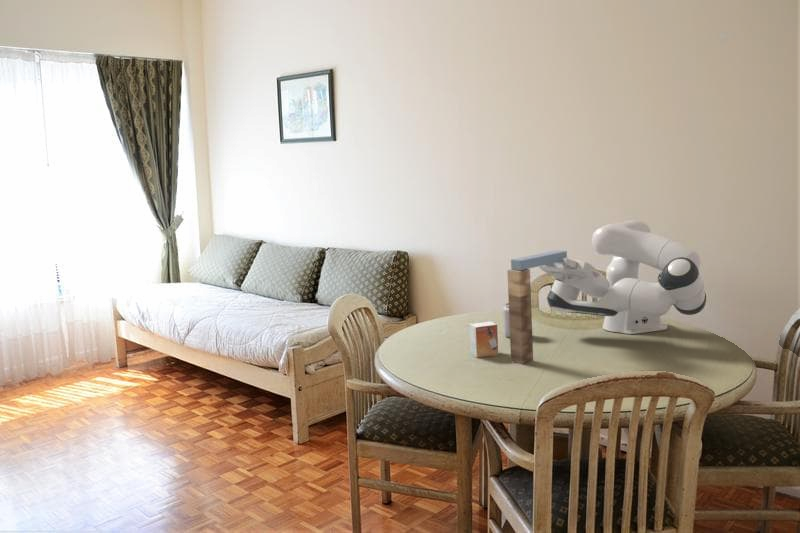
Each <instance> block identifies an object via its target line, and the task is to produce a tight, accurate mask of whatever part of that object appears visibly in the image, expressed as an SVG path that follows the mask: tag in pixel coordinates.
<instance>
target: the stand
mask: <svg viewBox="0 0 800 533" xmlns="http://www.w3.org/2000/svg"><path fill="white" fill-rule="evenodd" d="M507 291H508V292H507V294H508V303H509V323H510V338H509V344H510V347H509V348H510V362H512V361H513V363H516V364H519V365H524V364H528V363H531V362H533V361H534V348H533V346H534V345H533V321H532V320H533V318H532V315H533V314H532V312H533V311H532V290H531V268H529V269H525V270H514V269H511V268H510V269H507ZM530 361H531V362H530ZM527 362H528V363H527Z"/></svg>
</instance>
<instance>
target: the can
mask: <svg viewBox="0 0 800 533" xmlns="http://www.w3.org/2000/svg"><path fill="white" fill-rule="evenodd" d="M502 308H503V309H502V317H503V319H502V320H503V321H502V322H503V335H504V336H505V337H506V336H507V338H508V337H510V323H509V302H507V303H505V304H504V307H502Z"/></svg>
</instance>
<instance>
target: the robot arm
mask: <svg viewBox="0 0 800 533" xmlns="http://www.w3.org/2000/svg"><path fill="white" fill-rule="evenodd" d="M591 236H592V237H591V244H592V247H593V249H594V250H595V252H597V253H598V254H599V255H605V256H611V257H612V259H611V261H610V263H609V264H608V266H607V267H606V270H605V272H606V273H605V275H604V274H602V273H600V272H599V271H598V270H597V269H596V267H594V266H593V265H592V264H591V263H589V262H587V261H582V260H579V259H576V260H572V259H569V258H568V257H567V258H563V260H562V261H561V262H556V263H552V264H547V265H543V266H538V267H539V269H540V270H542V271H543V272H545V273H546V274H548V275H549V276H551V277H552V279H553V280H554V282H553V284H552V287H551V289H550V290H549V292H548V294H547V297H546V301H547V304H548V306H549V308H550V309H552V310H554V311H556V312H559V313H567V314H570V313H573V314H582V315H583V314H585V315H590V316H599V317H600V316H601V317H604V319H603V323H602V329H603V330H605V331H608V332H613V333H622V334H626V335H635V334H643V333H651V332H660V331H665V330H668V324H667V323H666V322H664V321H662V319H661V317H662V316H664V315H666V314H667V313H668V312H669V310H670V309H671V307H672V306H674V307H673V308H675V309H676V311H678V312H679V313H681V314H683V315H686V316H693V315H696V314H699V313H700V312H701V311H703V309H705V307H706V303H707V294H706V292H705V284H704V281H703V279H702V277H701V274H700V271H699V268H700V267H701V262H702V261H701V256H700V255H699V254H698V252H696V251H695V250H694V249H692V248H691V247H689V246H687V245H685V244H683V243H681V242H679V241H676V240H674V239H671V238H668V237H666V236H663V235H661V234H659V233H658V234H657V233H655V232H651V229H650V227H649V224H647V223H646V222H644V221H642V220H633V219H632V220H631V219H630V220H625V221H620V222H615V223H614V222H613V223H609V224H605V225H603V226H600V227H599V228H597V229H596V230H595V231H594V232H593V233H592V235H591ZM641 263H642V264H644V265H647V266H649V267H650V268H654V269H656V270H659V271H661V272H660V273H659V274H658V276H657V282H650V281H647V280H644V279H640V278H639V269H640V268H639V267H640V264H641ZM580 293H583V294H585V295H587V296H589V297H591V298H594V299H598V300H596V301H589V300H588V301H587V300H586V301H585V300H578V298H579V295H580Z"/></svg>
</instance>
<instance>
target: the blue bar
mask: <svg viewBox="0 0 800 533" xmlns="http://www.w3.org/2000/svg"><path fill="white" fill-rule="evenodd" d="M567 253H568V251H567V250H560V249H559V250H558V249H556V250H552V251H547V252H541V253H538V254H534V255H528V256H522V257H518V258H514V259H510V267H511V268H510V270H511V269H514V270H525V269H534V268H537V267H539V266H543V265H547V264H552V263H556V262H561V261H562V260H563V258H568V254H567Z"/></svg>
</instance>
